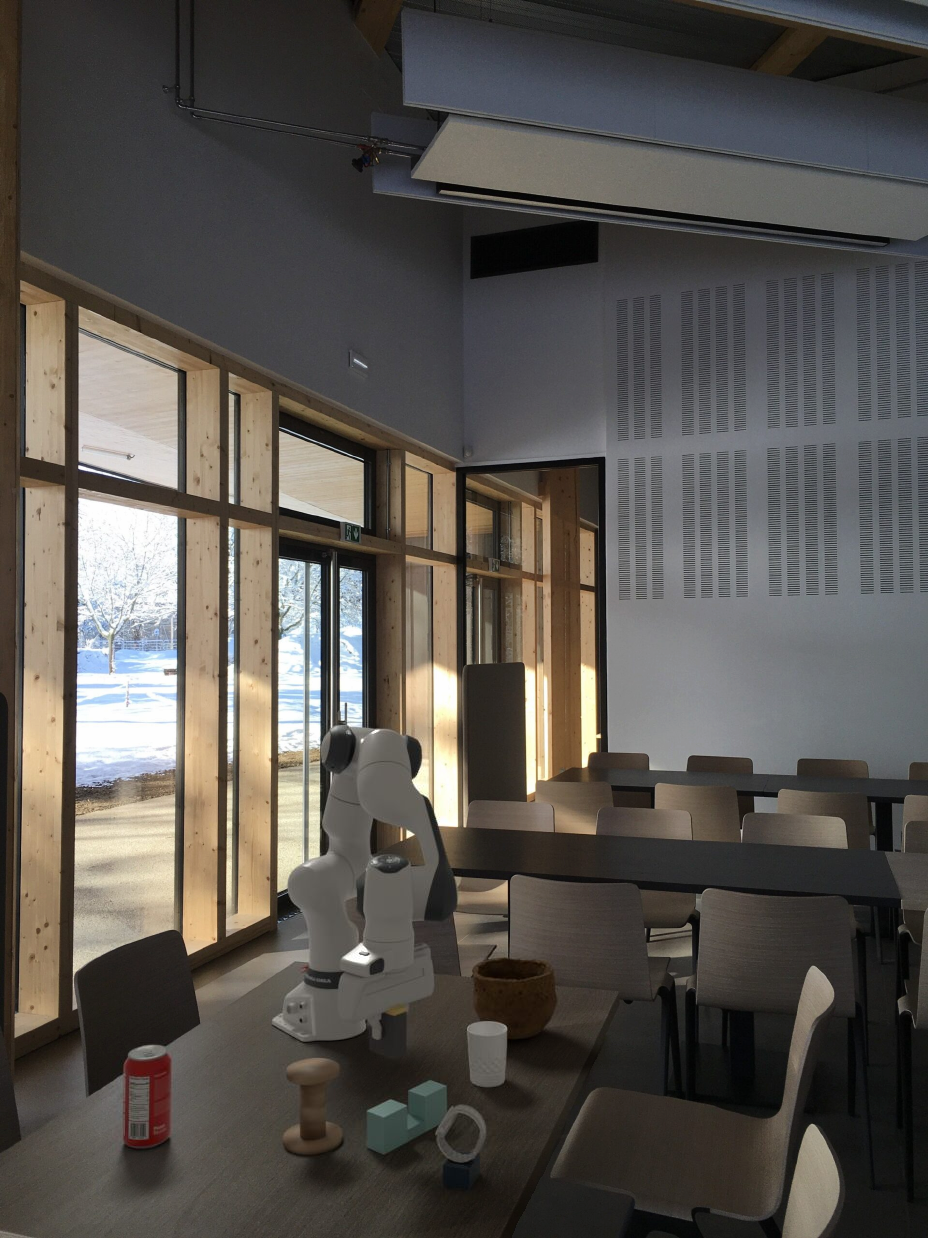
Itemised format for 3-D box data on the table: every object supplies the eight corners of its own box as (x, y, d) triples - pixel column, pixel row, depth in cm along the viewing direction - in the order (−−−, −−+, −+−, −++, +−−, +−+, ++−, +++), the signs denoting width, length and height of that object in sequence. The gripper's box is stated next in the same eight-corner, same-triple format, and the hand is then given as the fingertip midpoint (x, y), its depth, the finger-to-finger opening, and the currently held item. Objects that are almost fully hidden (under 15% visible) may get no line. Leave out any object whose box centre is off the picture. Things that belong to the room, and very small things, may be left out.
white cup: (504, 1090, 185) (503, 1037, 186) (463, 1087, 187) (463, 1034, 187) (510, 1074, 193) (510, 1022, 194) (471, 1071, 194) (471, 1020, 195)
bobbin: (270, 1142, 165) (271, 1070, 166) (315, 1121, 173) (315, 1052, 174) (310, 1161, 159) (310, 1085, 159) (354, 1138, 166) (354, 1066, 167)
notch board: (366, 1147, 163) (366, 1111, 163) (430, 1114, 175) (429, 1080, 176) (383, 1155, 161) (383, 1117, 161) (446, 1120, 173) (446, 1086, 173)
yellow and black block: (369, 1050, 168) (369, 1003, 168) (381, 1045, 170) (382, 998, 170) (393, 1059, 164) (394, 1011, 164) (406, 1054, 166) (406, 1006, 166)
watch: (442, 1167, 156) (442, 1097, 157) (490, 1175, 154) (489, 1103, 155) (430, 1184, 151) (430, 1112, 152) (480, 1192, 149) (479, 1119, 149)
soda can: (126, 1156, 161) (127, 1064, 162) (119, 1137, 168) (120, 1048, 169) (174, 1146, 164) (175, 1055, 165) (166, 1127, 171) (167, 1040, 172)
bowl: (458, 1028, 218) (457, 961, 219) (532, 1016, 225) (531, 951, 226) (493, 1058, 201) (492, 985, 202) (572, 1044, 208) (571, 973, 209)
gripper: (417, 937, 178) (416, 1014, 177) (332, 962, 162) (331, 1046, 162) (442, 943, 173) (442, 1022, 173) (357, 970, 158) (357, 1057, 157)
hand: (387, 1034), depth 167 cm, fingers closed on yellow and black block, 3 cm apart
